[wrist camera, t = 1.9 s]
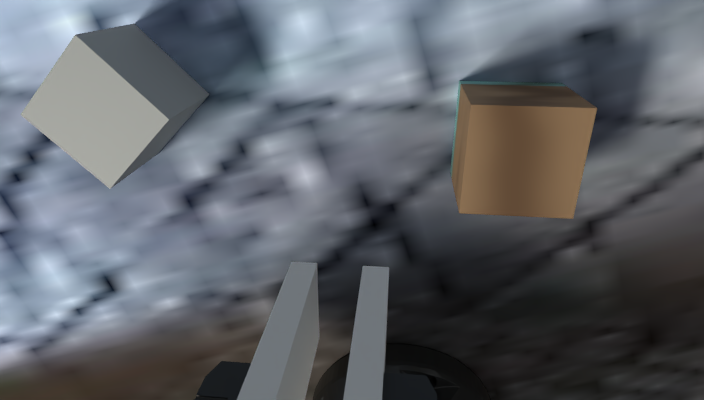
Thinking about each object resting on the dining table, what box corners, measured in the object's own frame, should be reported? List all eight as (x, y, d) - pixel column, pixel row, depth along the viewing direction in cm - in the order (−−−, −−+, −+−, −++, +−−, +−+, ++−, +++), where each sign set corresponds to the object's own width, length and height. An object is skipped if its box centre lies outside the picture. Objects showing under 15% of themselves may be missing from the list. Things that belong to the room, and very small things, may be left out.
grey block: (209, 94, 31) (169, 119, 26) (157, 154, 34) (109, 188, 28) (134, 23, 30) (75, 34, 25) (85, 90, 32) (20, 114, 27)
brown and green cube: (561, 82, 29) (596, 108, 24) (544, 176, 31) (572, 218, 26) (459, 80, 29) (470, 104, 24) (450, 172, 32) (459, 213, 27)
